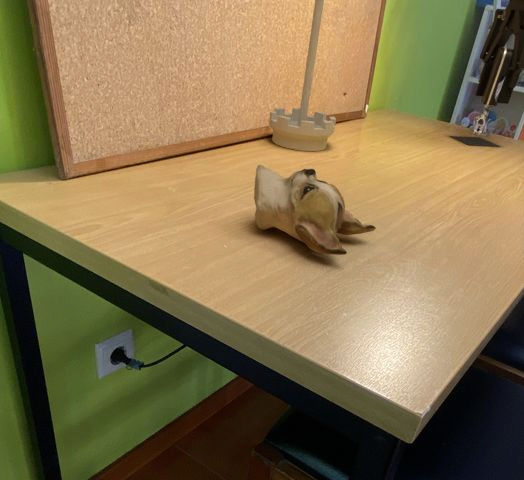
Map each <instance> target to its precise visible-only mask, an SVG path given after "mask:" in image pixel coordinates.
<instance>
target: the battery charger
mask: <svg viewBox="0 0 524 480" xmlns="http://www.w3.org/2000/svg"><path fill="white" fill-rule="evenodd" d="M513 49H514V48H509V47H505V46H504V47H499V48H498V50H497V52H496V55H495V58H494V61H493V64H492V67H491V70H490V73H489V76H488V79H487V82H486V85H485V88H484V91H483V94H482V96H480V102H481V104H482V105H485V106H489V107H490V106H491V107H497V106H498V104H499V103H497V99H496V94H497V89H498V87H499V85H500V83H501V82H502V81H504V79H505V76H506V73H507V70H509V69H508V68H509V67H511V65H512V57H513Z"/></svg>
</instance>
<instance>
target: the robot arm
mask: <svg viewBox="0 0 524 480" xmlns="http://www.w3.org/2000/svg"><path fill="white" fill-rule="evenodd" d="M488 31H489V32H488V34H487V35H486V38H485V42H484V45H483V47H482V49H481V51H480V54H479V59H480V60H482V62H483V66H482V70H481V72H480V75H479V82H478V85H477V87H476V91H475V94H474V96H477V97H482V94H483V91H484V88H485V85H486V82H487V79H488V76H489V73H490V70H491V67H492V64H493V61H494V58H495V55H496V52H497V50H498V48H499V47H505V46H506V45H507V43H508V41H509V40H510V38H511V36H512V35H514V41H513V48H512V49H513V57H512V65H511V67H509V68H508V69H509V70H507V73H506V76H504V79H503V80H502V81H503V82H502V85H501V86H500V90H499V93H498V96H497V99H496V102H497V103H498V104H504V105H506V104H507V105H508V104H509V102H510V100H511V97H512V95H513V92H514V89H515V88H516V86H517V85H518V81H519V79H520V76H521V73H522V72H523V71H524V0H509V2H508V3H507V5H506V7H505V8H496V9H495V12H494V16H493V21H492V24H491V25H490V29H489V30H488Z"/></svg>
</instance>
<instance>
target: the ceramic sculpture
mask: <svg viewBox="0 0 524 480" xmlns="http://www.w3.org/2000/svg"><path fill="white" fill-rule="evenodd" d="M253 192H254V193H253V200H254V205H255V212H254V221H255V223H256V226H257V227H258V229H260V230H268V229H272V228H276V229H278V230H280V231H282V232H285V233H286V234H288V235H289V236H290V237H292V238H294V239H296V240H297V241H300V242H302V243H303V244H305V245H306V246H307V247H308V248H309V249H310V250H311V251H313V252H314V253H317V254H322V255H334V256H336V255H337V256H345V255H347V253H348V252H347V250H346V249H345V248H344V247H343V245H342V244H341V242H340V238H339V236H338V235H337V234H340V235H344V236H354V235H361V234H365V233H370V232H374V231H375V230H376V229H377V227H376V226H375V225H373V224H363V223H362V222H361V221H360V220H359V219H357V218H355V217H354V215H353V214H352V213H351V212H350V211H348V210H346V204H345V200H344V196H343V195H342V193H341V192H340V190H339V188H338V187H336V186H335V185H334V184H332V183H328V182H327V181H325V180H320V179H318V175H317V172H316V170H315V169H314V168H303V169H301V170H296V171H294V172H293V173H292V174H291V175H290V176H289V177H283V176H282V175H281V174H280V173H279V172H277V171H274V170H272V169H271V168H267V167H265V166H264V165H262V164H258V165H257V167H256V169H255V178H254V187H253Z"/></svg>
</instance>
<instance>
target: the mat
mask: <svg viewBox="0 0 524 480" xmlns="http://www.w3.org/2000/svg"><path fill="white" fill-rule="evenodd" d="M449 137H450V138H452V139H454V140H456V141H458V142H461V143H463V144H465V145H467V146H476V147H477V146H478V147H495V148H496V147H497V148H498V147H499V148H500V145H499V144H496V143H494V142H491V141H488V140H486V139H484V138H482V137H479V136H478V137H475V136H457V135H456V136H455V135H449Z"/></svg>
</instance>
